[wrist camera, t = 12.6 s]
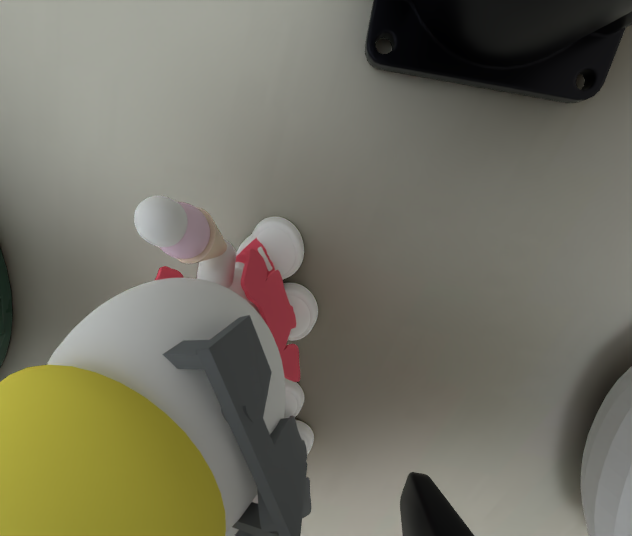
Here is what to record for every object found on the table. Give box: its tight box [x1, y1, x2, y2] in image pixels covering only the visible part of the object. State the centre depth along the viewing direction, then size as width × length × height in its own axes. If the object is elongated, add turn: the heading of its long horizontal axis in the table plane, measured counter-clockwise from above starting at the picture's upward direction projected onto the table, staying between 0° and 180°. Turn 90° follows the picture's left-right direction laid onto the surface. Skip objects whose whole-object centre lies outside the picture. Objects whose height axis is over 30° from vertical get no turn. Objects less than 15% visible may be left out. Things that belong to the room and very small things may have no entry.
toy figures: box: [0, 195, 318, 536], centre depth 8 cm, size 12×4×8 cm, turn 1°
